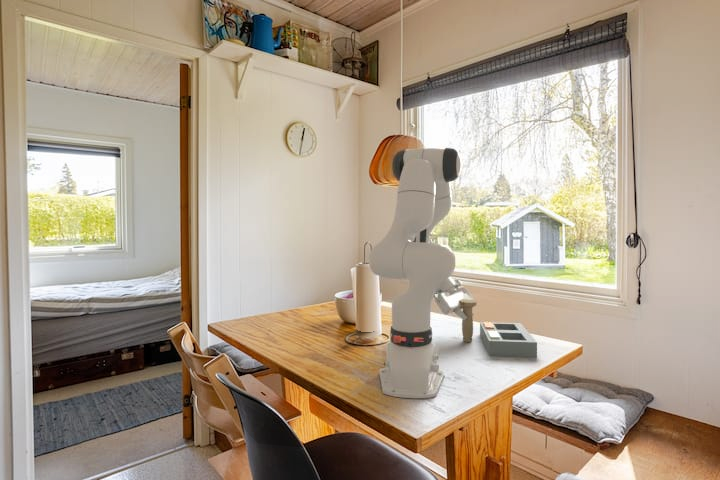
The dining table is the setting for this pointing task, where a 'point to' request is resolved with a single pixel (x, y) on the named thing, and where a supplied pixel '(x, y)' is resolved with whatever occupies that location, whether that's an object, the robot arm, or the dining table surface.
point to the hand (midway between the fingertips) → (469, 317)
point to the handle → (468, 323)
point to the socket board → (507, 340)
